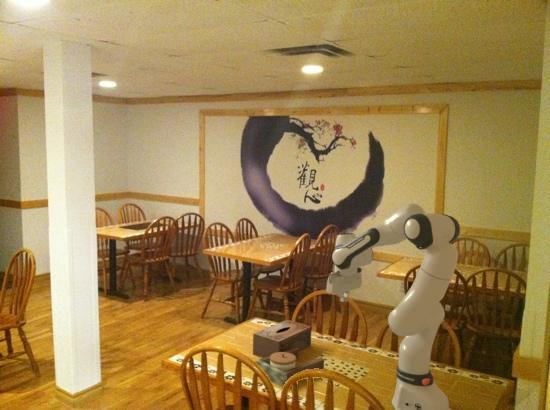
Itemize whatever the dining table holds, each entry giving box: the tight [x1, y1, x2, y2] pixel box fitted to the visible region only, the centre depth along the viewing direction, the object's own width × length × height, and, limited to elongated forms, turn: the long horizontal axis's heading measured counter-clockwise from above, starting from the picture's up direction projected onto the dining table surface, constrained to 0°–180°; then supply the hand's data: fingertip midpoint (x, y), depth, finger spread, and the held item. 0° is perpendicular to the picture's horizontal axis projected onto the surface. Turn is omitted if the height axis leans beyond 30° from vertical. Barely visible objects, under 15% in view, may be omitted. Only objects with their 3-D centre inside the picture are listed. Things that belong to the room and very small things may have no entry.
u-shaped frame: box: [254, 347, 325, 388], centre depth 208 cm, size 17×24×5 cm
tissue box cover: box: [252, 319, 312, 359], centre depth 230 cm, size 26×14×10 cm, turn 142°
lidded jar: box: [270, 352, 297, 372], centre depth 204 cm, size 11×11×9 cm
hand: (343, 301), depth 215 cm, fingers closed
